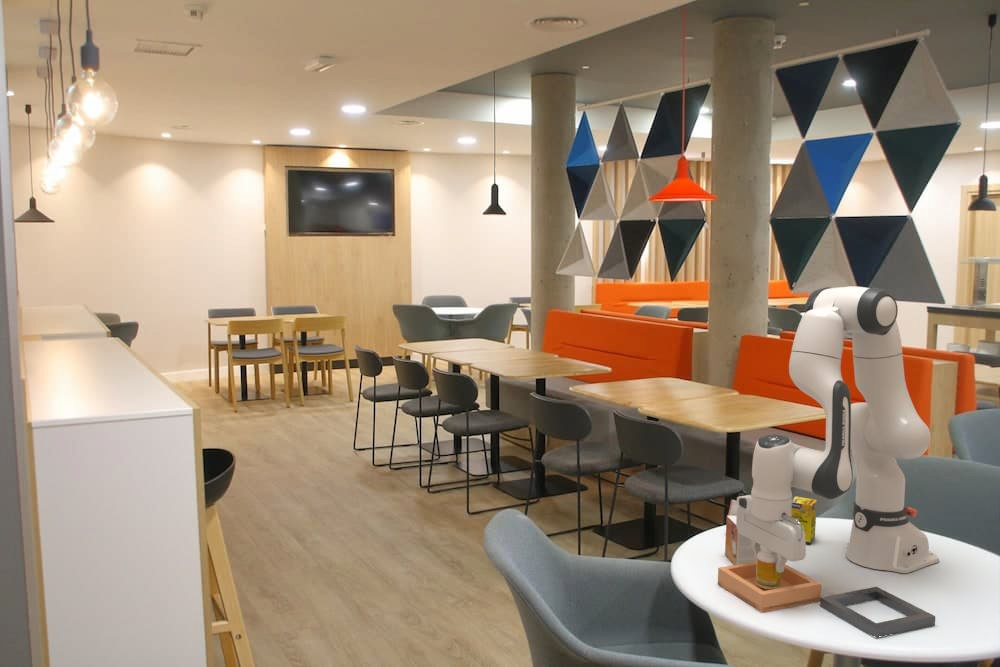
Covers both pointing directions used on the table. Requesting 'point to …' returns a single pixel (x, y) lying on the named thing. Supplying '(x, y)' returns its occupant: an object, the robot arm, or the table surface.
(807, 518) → the supplement box
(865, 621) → the dark grey square frame
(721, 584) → the tray
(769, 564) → the supplement bottle
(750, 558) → the small box
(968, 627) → the table surface
